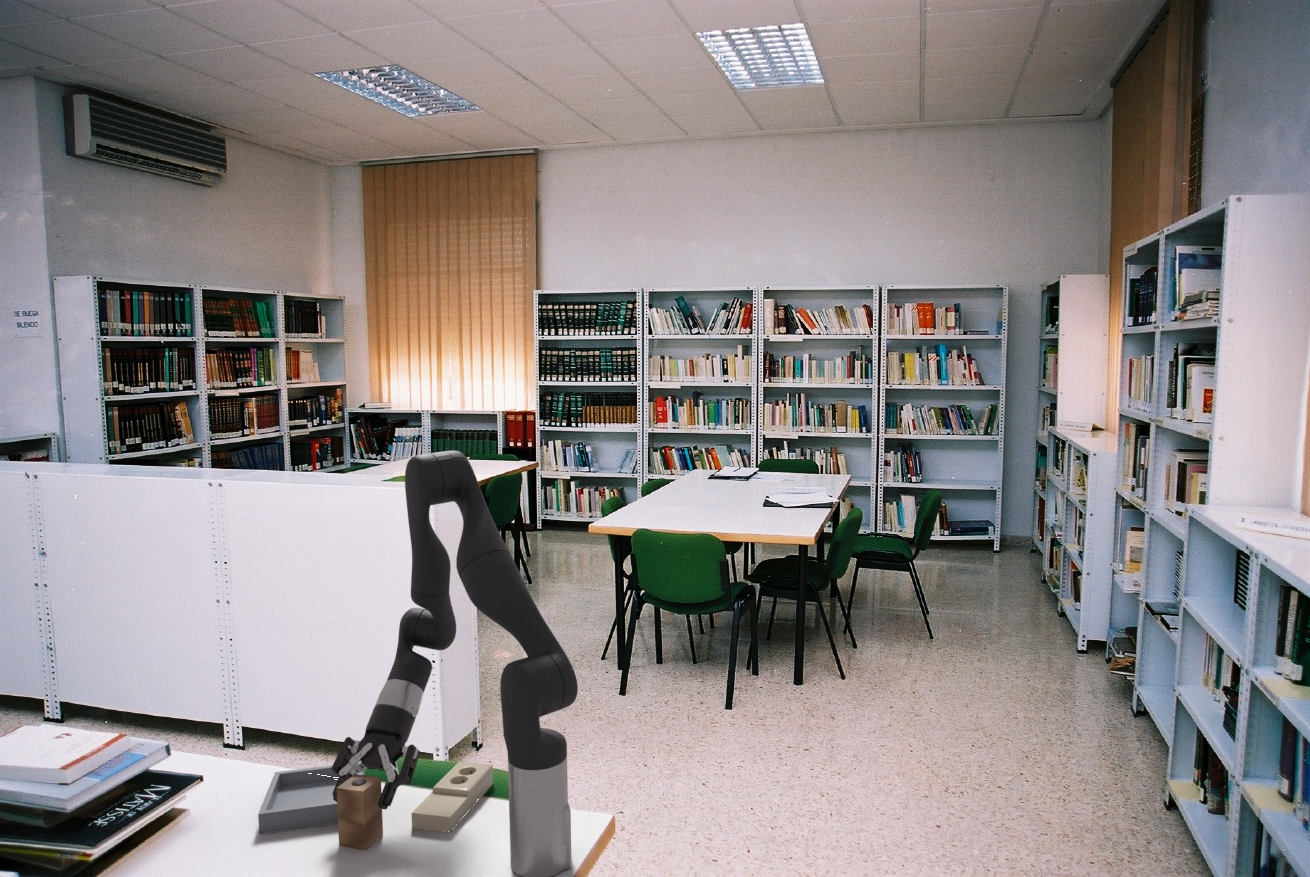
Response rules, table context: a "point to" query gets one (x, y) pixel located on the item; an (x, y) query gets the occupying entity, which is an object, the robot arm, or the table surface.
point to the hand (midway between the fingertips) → (359, 804)
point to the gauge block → (359, 812)
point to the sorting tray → (299, 800)
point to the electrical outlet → (453, 797)
